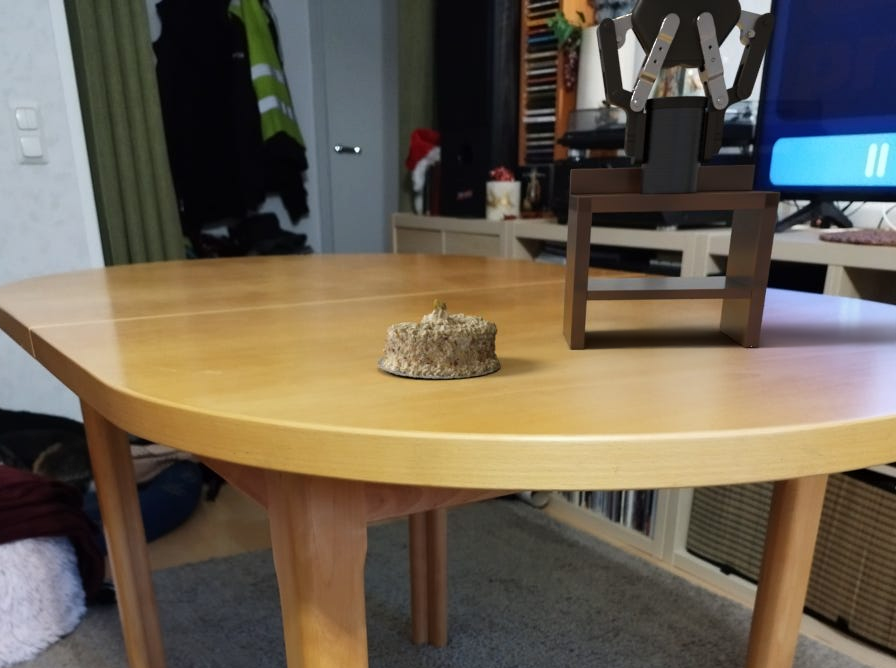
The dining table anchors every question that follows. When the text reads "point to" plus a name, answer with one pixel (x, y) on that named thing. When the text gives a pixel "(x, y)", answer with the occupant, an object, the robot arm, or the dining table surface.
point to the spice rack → (737, 289)
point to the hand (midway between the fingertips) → (671, 162)
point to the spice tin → (673, 144)
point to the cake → (441, 346)
